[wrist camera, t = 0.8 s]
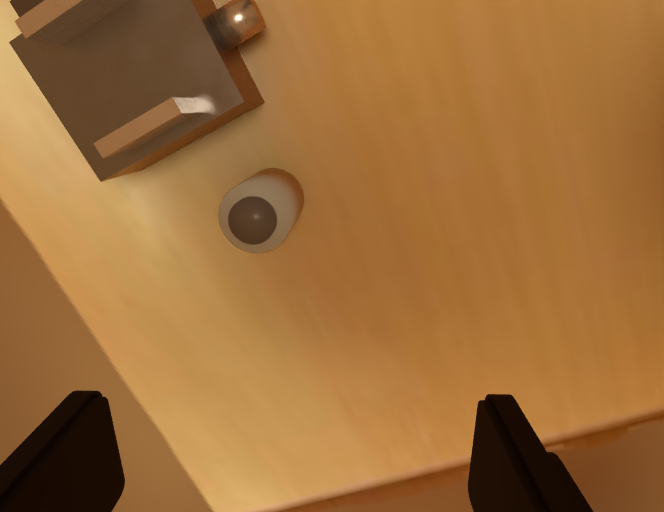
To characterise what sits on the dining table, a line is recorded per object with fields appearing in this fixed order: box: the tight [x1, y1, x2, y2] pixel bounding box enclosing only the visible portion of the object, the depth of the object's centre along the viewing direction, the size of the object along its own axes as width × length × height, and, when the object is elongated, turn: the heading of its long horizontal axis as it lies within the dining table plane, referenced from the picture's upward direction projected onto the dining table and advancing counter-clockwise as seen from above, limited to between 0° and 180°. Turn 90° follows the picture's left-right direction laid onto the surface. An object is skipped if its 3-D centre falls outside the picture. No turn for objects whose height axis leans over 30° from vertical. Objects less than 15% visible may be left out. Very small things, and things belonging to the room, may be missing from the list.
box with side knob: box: [9, 0, 266, 182], centre depth 28 cm, size 15×12×9 cm
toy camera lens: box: [219, 168, 304, 253], centre depth 32 cm, size 5×5×8 cm
